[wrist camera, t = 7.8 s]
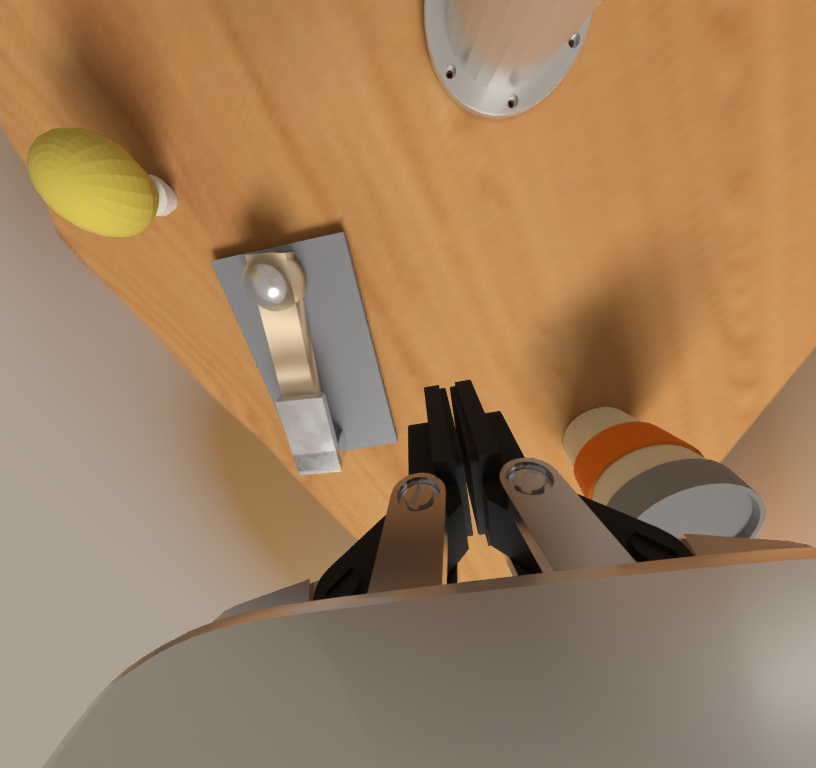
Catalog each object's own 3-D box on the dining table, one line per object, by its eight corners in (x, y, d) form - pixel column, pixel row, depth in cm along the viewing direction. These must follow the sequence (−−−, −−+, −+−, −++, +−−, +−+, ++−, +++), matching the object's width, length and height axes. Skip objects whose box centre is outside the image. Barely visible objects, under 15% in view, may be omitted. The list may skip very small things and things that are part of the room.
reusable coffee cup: (607, 375, 37) (724, 455, 23) (664, 428, 40) (795, 524, 27) (529, 442, 41) (591, 542, 28) (587, 485, 45) (667, 592, 31)
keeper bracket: (289, 383, 36) (274, 402, 32) (331, 379, 36) (321, 397, 32) (310, 451, 40) (299, 475, 36) (347, 448, 40) (341, 471, 36)
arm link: (248, 253, 29) (235, 254, 27) (301, 250, 29) (293, 251, 27) (291, 420, 38) (284, 431, 36) (333, 418, 38) (328, 429, 35)
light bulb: (206, 242, 30) (121, 244, 21) (134, 231, 30) (17, 228, 21) (195, 160, 27) (92, 122, 18) (116, 146, 27) (-30, 100, 18)
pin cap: (243, 267, 27) (236, 268, 26) (281, 259, 27) (276, 260, 26) (259, 306, 29) (253, 309, 28) (295, 299, 29) (291, 302, 27)
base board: (216, 260, 31) (210, 261, 30) (345, 231, 30) (343, 231, 29) (300, 453, 42) (298, 458, 41) (397, 437, 41) (397, 442, 40)
